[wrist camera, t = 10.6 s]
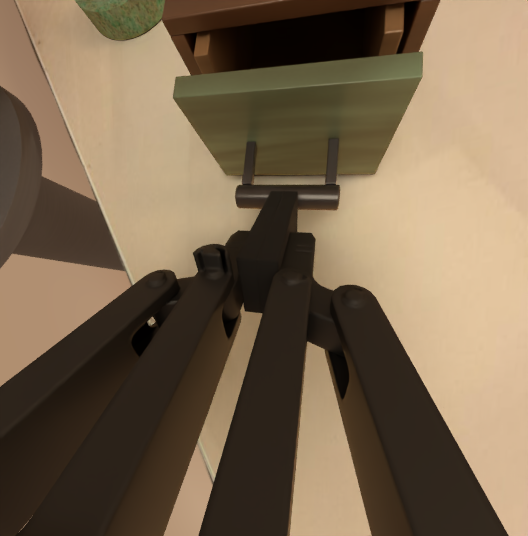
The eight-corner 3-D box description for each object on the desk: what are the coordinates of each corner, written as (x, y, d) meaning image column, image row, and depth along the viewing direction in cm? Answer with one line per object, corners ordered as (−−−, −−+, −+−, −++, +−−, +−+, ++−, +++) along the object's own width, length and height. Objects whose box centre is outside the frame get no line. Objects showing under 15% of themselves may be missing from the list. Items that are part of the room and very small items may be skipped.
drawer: (372, 230, 17) (420, 174, 9) (220, 225, 19) (159, 176, 12) (382, 12, 19) (429, -180, 11) (243, 31, 21) (205, -118, 14)
